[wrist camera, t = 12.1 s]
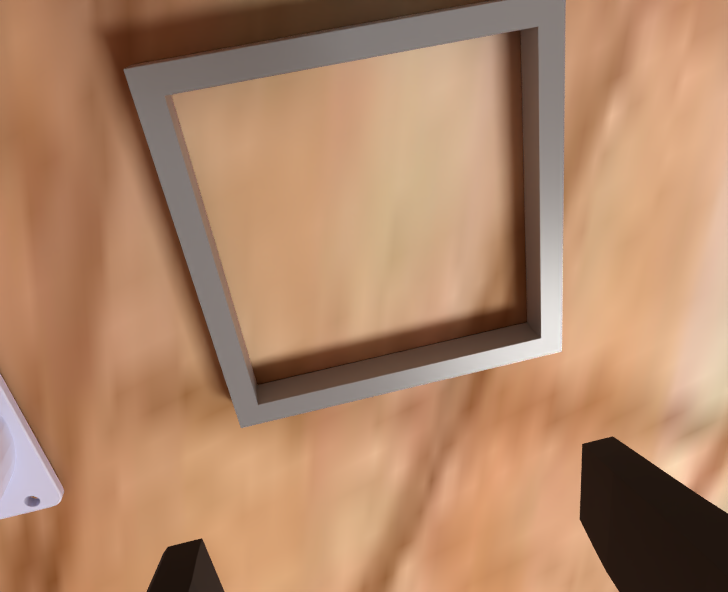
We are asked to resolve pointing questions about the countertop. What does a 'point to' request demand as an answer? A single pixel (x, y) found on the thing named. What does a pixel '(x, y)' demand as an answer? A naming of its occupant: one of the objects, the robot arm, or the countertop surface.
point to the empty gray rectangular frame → (311, 50)
